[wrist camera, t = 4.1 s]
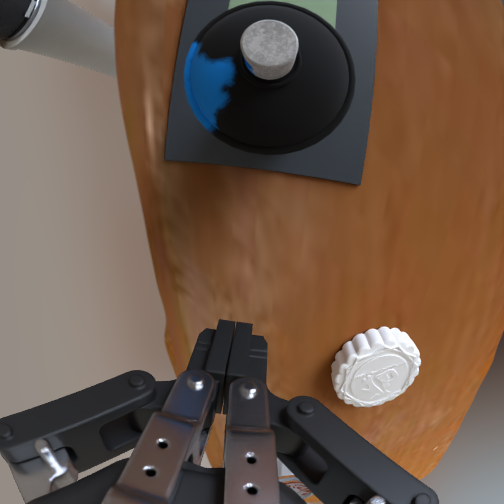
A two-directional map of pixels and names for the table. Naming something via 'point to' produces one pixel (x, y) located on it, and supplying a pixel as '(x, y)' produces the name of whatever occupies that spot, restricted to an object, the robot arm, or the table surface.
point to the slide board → (307, 160)
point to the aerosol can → (269, 78)
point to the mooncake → (375, 367)
